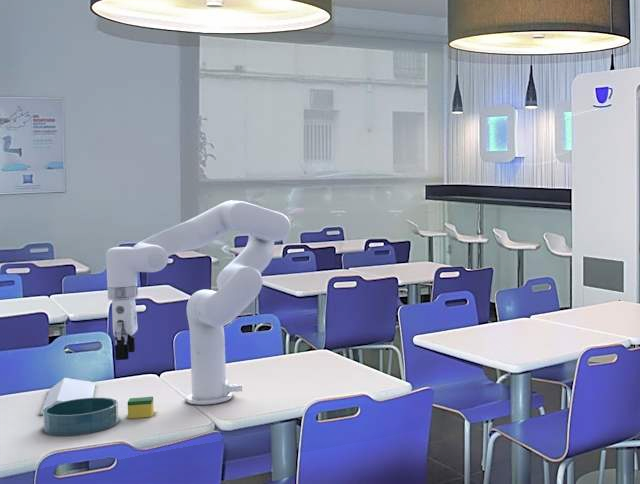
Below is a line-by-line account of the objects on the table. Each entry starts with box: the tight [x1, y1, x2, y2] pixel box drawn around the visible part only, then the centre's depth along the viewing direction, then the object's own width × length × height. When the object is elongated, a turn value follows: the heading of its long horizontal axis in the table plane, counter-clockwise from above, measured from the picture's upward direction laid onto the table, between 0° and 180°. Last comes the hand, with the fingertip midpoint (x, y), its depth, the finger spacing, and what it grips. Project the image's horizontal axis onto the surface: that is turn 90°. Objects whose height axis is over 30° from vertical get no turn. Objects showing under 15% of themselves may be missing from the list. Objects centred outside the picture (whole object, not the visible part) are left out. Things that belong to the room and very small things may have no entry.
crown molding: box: [40, 377, 96, 416], centre depth 255 cm, size 29×12×4 cm, turn 21°
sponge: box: [127, 396, 155, 419], centre depth 237 cm, size 6×4×4 cm, turn 103°
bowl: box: [42, 397, 119, 436], centre depth 229 cm, size 18×18×5 cm
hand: (125, 355), depth 237 cm, fingers open, 9 cm apart
